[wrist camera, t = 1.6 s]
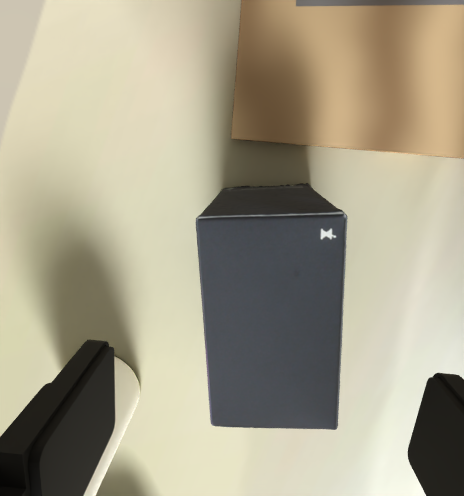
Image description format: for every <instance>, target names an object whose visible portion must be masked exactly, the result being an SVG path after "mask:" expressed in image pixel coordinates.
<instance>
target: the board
mask: <svg viewBox="0 0 464 496" xmlns="http://www.w3.org/2000/svg"><path fill="white" fill-rule="evenodd" d="M231 138H232V139H238V140H250V141H262V142H274V143H286V144H298V145H309V146H321V147H333V148H345V149H357V150H369V151H381V152H393V153H404V154H416V155H428V156H440V157H452V158H464V0H242V3H241V15H240V28H239V41H238V54H237V67H236V80H235V93H234V106H233V119H232V131H231Z"/></svg>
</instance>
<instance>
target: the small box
mask: <svg viewBox="0 0 464 496" xmlns="http://www.w3.org/2000/svg"><path fill="white" fill-rule="evenodd" d="M196 231H197V245H198V257H199V270H200V283H201V295H202V308H203V321H204V335H205V348H206V362H207V376H208V391H209V405H210V419H211V424H212V425H213V426H221V427H244V428H250V427H252V428H295V429H332V430H335V429H337V427H338V408H339V390H340V366H341V348H342V326H343V299H344V279H345V258H346V233H347V215H346V214H345V213H344V212H343V211H342V210H340V209H337V208H336V207H335V206H333V205H332V204H331V203H329V202H328V201H327V200H326V199H325V198H323V197H322V196H321V195H319V194H318V193H317V192H316V191H314V190H313V188H312V187H311V186H310V185H309V184H308V183H306V184H297V185H293V186H290V185H286V186H284V185H280V186H265V187H263V186H259V187H250V186H241V187H233V188H224V189H222V191H221V192H220V193H219V195H218V196H217V197H216V198H215V199H214V200H213V201H212V203H211V204H210V205H209V206H208V207H207V208H206V209H205V210H204V211H203V213H202V214H201V215H200V216H198V217H197V218H196Z"/></svg>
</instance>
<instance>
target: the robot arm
mask: <svg viewBox="0 0 464 496" xmlns="http://www.w3.org/2000/svg"><path fill="white" fill-rule="evenodd" d="M114 427H115V366H114V348H113V347H109V344H108V342H107V341H97V340H87V341H86V342H85V343H84V344H83V345H82V346H81V348H80V349H79V350H78V351H77V352H76V354H75V355H74V356H73V357H72V358H71V360H70V361H69V362H68V363H67V365H66V366H65V367H64V368H63V369H62V371H61V372H60V373H59V374H58V375H57V377H56V378H55V379H54V380H53V381H52V383H48V384H46V385H45V386H43V387H42V388H41V390H40V391H39V392H38V393H37V394H36V395H35V397H34V398H33V399H32V400H31V401H30V403H29V404H28V405H27V406H26V407H25V408H24V410H23V411H22V412H21V413H20V414H19V415H18V417H17V418H16V419H15V420H14V421H13V423H12V424H11V425H10V426H9V427H8V428H7V430H6V431H5V432H4V433H3V434H2V436H1V437H0V496H84V493H85V491H86V489H87V487H88V485H89V483H90V481H91V478H92V476H93V474H94V472H95V470H96V468H97V466H98V464H99V461H100V459H101V457H102V455H103V453H104V451H105V449H106V446H107V444H108V442H109V440H110V438H111V436H112V433H113V430H114ZM408 459H409V462H410V465H411V467H412V469H413V471H414V472H415V474H416V476H417V478H418V480H419V482H420V484H421V486H422V488H423V490H424V492H425V494H426V496H464V380H463V378H462V377H460V376H459V375H454V374H444V373H436V374H435V375H434V376H433V378H432V377H431V378H429V379H428V381H427V384H426V387H425V391H424V394H423V398H422V401H421V405H420V408H419V412H418V416H417V419H416V423H415V426H414V430H413V433H412V437H411V440H410V444H409V447H408Z"/></svg>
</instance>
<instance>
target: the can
mask: <svg viewBox="0 0 464 496" xmlns="http://www.w3.org/2000/svg"><path fill="white" fill-rule="evenodd" d="M114 366H115V427H114V430H113V433H112V436H111V438H110V440H109V442H108V444H107V446H106V449H105V451H104V453H103V455H102V457H101V459H100V461H99V464H98V466H97V468H96V470H95V472H94V474H93V476H92V478H91V481H90V483H89V485H88V487H87V489H86V491H85V493H84V496H95V495H96V493H97V491H98V489H99V487H100V485H101V482H102V480H103V478H104V476H105V474H106V472H107V469H108V467H109V465H110V463H111V461H112V459H113V456H114V454H115V452H116V450H117V448H118V446H119V443H120V441H121V439H122V437H123V435H124V433H125V430H126V428H127V426H128V424H129V422H130V419H131V417H132V415H133V413H134V411H135V408H136V406H137V404H138V401H139V397H140V386H139V382H138V379H137V377H136V375H135V373H134V372H133V371H132V369H131V368H130V367H129V366H128V365H127V364H126V363H125V362H123V361H122V360H120V359H119V358H117V357H115V356H114Z"/></svg>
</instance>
